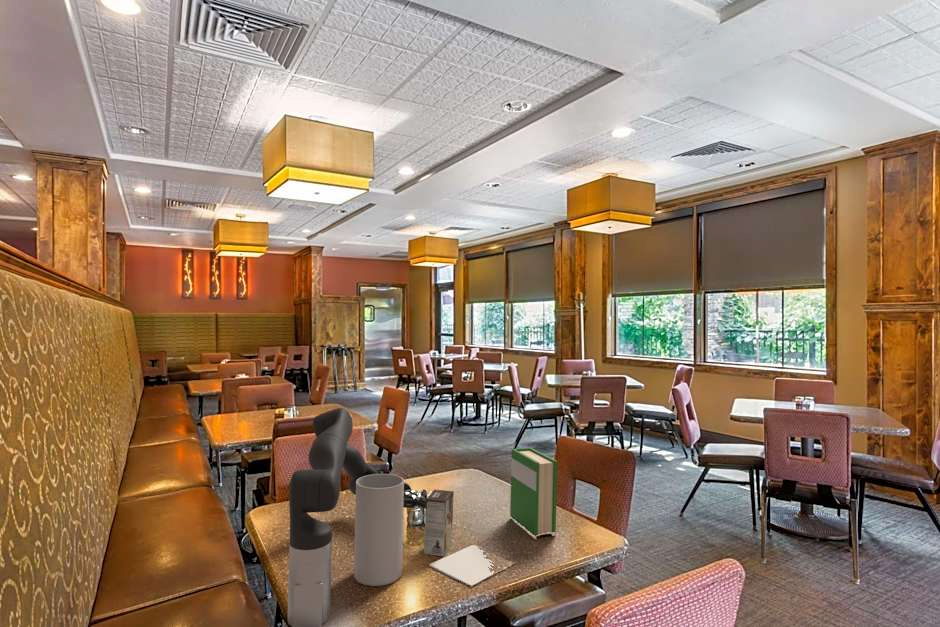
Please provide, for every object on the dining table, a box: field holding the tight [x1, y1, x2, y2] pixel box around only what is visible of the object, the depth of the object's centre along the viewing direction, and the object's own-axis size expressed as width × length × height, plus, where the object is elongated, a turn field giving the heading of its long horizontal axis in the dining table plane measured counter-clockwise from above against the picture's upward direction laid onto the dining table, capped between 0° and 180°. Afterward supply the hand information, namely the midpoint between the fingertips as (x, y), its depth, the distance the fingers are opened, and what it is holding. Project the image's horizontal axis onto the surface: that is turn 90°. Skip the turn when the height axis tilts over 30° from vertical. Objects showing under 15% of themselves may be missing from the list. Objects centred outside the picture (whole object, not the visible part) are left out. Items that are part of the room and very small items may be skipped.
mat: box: [428, 544, 500, 586], centre depth 145 cm, size 16×18×1 cm
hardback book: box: [509, 447, 558, 536], centre depth 172 cm, size 18×7×24 cm, turn 22°
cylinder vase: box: [353, 473, 405, 587], centre depth 138 cm, size 12×12×25 cm
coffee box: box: [423, 489, 455, 557], centre depth 155 cm, size 9×6×16 cm
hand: (430, 505), depth 157 cm, fingers closed
